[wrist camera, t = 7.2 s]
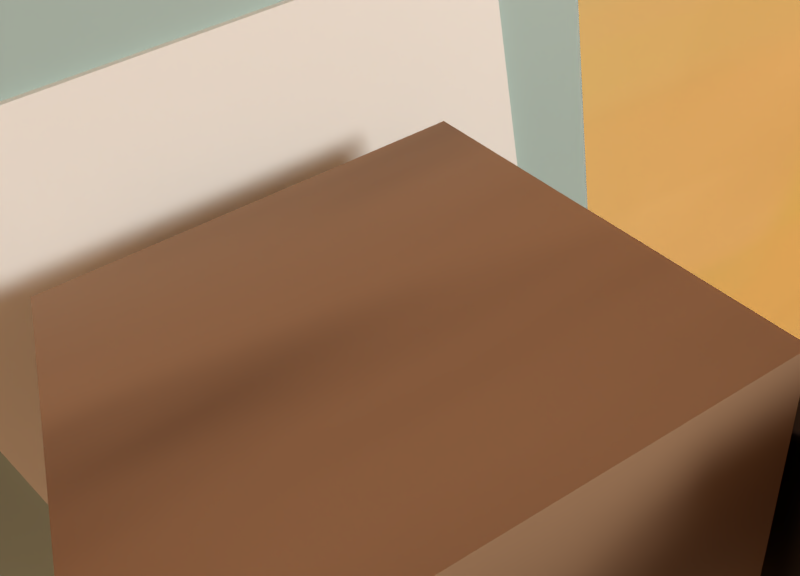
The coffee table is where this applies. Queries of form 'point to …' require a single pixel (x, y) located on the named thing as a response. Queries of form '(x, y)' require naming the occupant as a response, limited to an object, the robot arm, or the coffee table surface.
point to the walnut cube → (409, 390)
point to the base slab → (232, 139)
